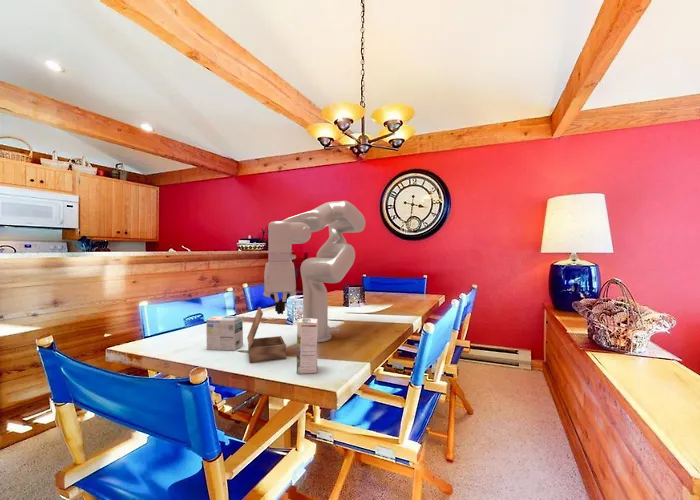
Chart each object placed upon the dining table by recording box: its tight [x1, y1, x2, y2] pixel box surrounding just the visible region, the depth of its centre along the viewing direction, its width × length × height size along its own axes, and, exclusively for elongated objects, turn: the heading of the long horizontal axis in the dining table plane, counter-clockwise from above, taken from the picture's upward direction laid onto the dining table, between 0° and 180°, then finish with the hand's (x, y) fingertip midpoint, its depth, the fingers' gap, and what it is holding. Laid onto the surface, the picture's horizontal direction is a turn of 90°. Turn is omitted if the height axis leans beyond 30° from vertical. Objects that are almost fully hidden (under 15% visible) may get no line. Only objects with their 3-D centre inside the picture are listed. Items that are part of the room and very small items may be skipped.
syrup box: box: [296, 317, 319, 375], centre depth 94 cm, size 6×6×14 cm
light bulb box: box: [205, 315, 244, 351], centre depth 115 cm, size 11×7×11 cm, turn 84°
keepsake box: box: [247, 335, 287, 364], centre depth 106 cm, size 11×11×4 cm
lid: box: [246, 306, 264, 348], centre depth 105 cm, size 11×11×1 cm
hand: (280, 313), depth 108 cm, fingers closed
